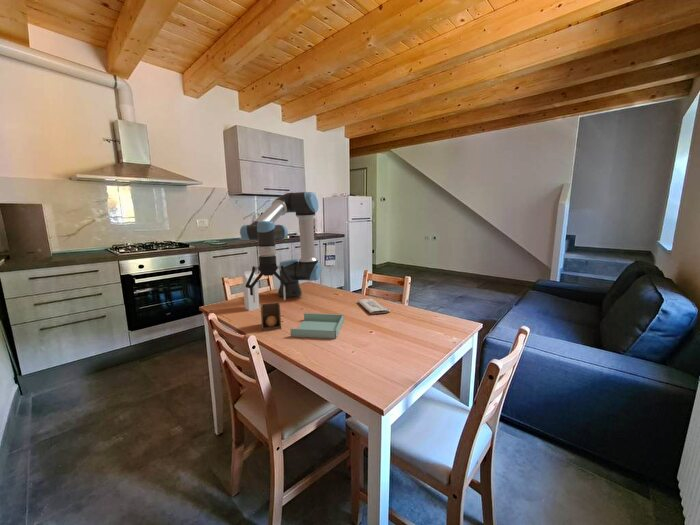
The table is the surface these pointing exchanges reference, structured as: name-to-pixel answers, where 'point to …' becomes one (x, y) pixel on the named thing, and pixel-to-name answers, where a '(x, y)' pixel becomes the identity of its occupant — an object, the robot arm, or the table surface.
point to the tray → (319, 326)
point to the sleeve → (270, 314)
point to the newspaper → (373, 306)
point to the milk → (247, 297)
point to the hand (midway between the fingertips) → (269, 300)
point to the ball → (271, 321)
